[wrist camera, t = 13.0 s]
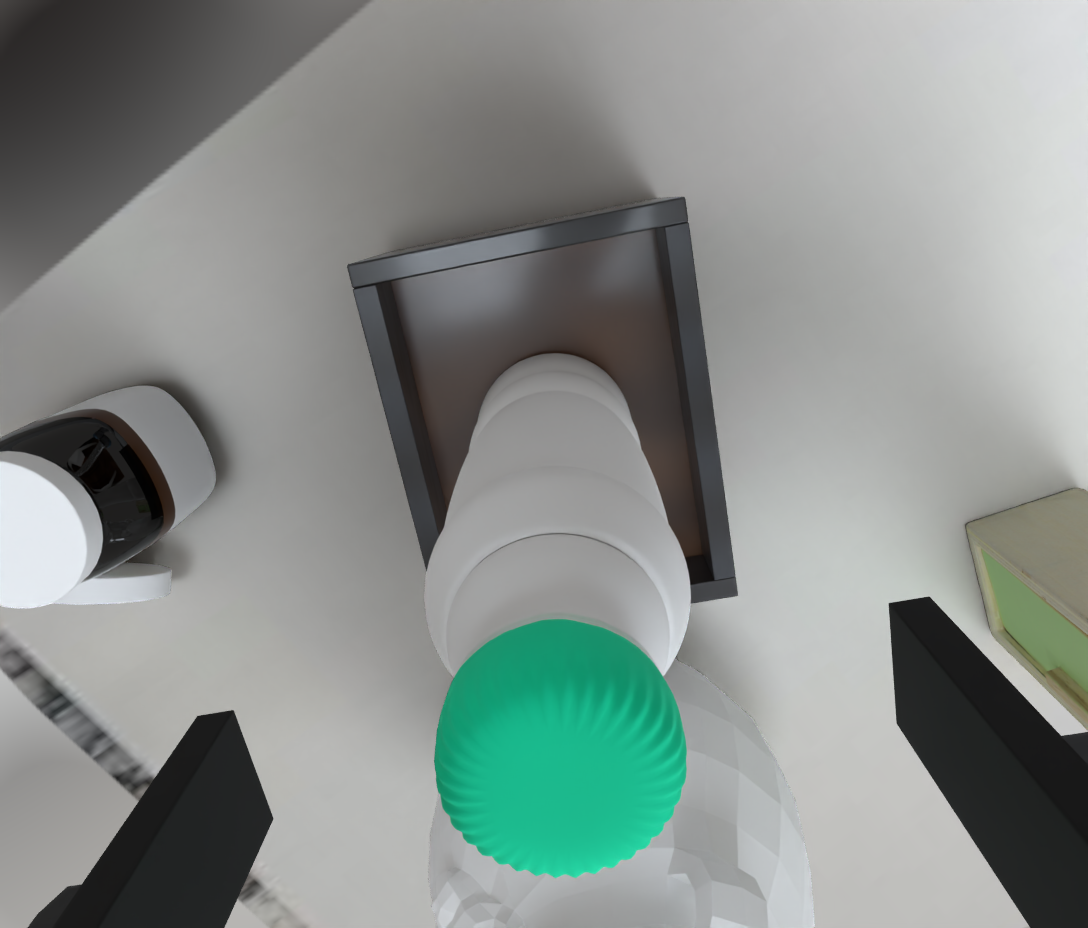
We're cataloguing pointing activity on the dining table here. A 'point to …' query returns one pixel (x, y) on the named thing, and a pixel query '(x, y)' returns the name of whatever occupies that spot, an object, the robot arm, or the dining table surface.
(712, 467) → the open rectangular box
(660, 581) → the water bottle
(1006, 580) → the beige rectangular block
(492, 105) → the dining table surface
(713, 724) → the white vase
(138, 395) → the spread jar
